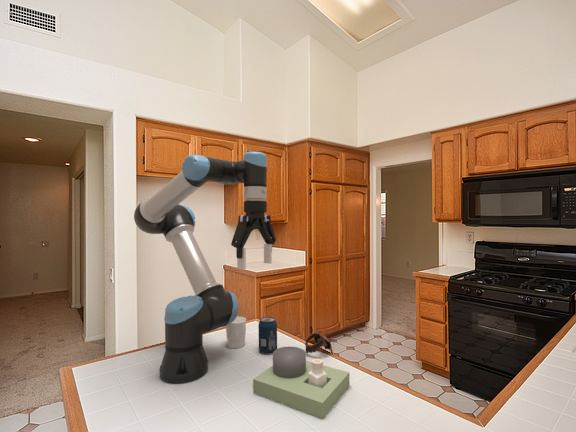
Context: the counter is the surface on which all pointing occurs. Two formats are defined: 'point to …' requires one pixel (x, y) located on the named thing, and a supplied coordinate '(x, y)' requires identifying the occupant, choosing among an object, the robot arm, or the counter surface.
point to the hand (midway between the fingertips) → (255, 266)
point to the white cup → (236, 333)
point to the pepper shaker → (317, 374)
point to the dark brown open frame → (318, 342)
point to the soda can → (267, 335)
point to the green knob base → (299, 383)
